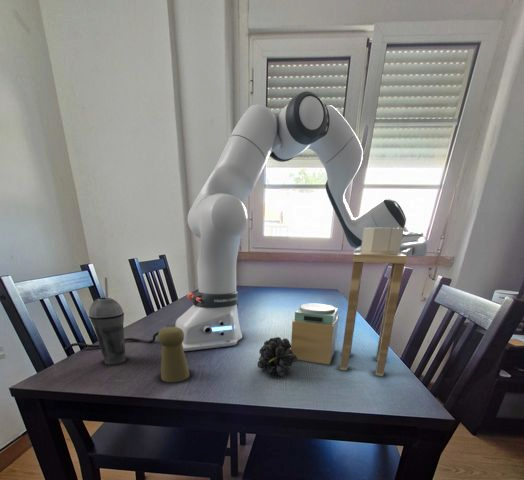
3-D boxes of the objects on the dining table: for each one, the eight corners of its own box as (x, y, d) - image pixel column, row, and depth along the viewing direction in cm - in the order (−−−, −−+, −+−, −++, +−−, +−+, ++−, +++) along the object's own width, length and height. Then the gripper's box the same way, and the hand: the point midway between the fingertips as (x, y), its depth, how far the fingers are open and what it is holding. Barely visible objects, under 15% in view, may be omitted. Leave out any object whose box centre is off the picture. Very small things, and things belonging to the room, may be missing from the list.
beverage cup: (94, 360, 69) (76, 277, 62) (124, 353, 74) (110, 275, 67) (105, 369, 65) (87, 280, 57) (136, 360, 70) (123, 278, 62)
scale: (329, 364, 69) (335, 313, 65) (290, 358, 73) (293, 309, 68) (334, 351, 78) (340, 304, 73) (299, 346, 81) (302, 301, 77)
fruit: (268, 321, 71) (265, 339, 57) (299, 332, 72) (303, 353, 58) (257, 351, 74) (251, 375, 60) (286, 362, 75) (287, 388, 61)
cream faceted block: (399, 254, 57) (404, 227, 55) (359, 253, 60) (363, 227, 58) (394, 252, 74) (398, 231, 72) (363, 251, 76) (366, 231, 74)
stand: (384, 376, 63) (407, 255, 54) (338, 369, 67) (353, 254, 57) (383, 358, 74) (402, 253, 64) (343, 353, 77) (356, 252, 68)
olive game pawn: (155, 379, 60) (148, 330, 56) (171, 368, 66) (166, 323, 62) (179, 384, 59) (174, 333, 55) (194, 372, 64) (190, 325, 60)
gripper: (357, 239, 93) (347, 249, 83) (428, 231, 83) (427, 241, 73) (358, 258, 96) (348, 270, 86) (427, 253, 86) (425, 265, 76)
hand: (385, 257), depth 80 cm, fingers open, 8 cm apart
